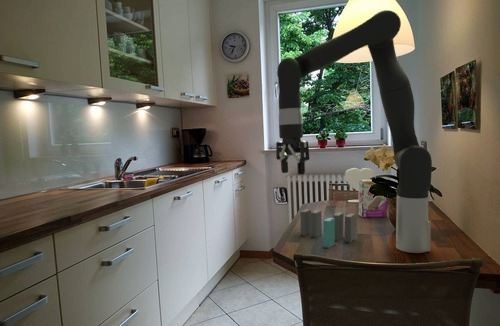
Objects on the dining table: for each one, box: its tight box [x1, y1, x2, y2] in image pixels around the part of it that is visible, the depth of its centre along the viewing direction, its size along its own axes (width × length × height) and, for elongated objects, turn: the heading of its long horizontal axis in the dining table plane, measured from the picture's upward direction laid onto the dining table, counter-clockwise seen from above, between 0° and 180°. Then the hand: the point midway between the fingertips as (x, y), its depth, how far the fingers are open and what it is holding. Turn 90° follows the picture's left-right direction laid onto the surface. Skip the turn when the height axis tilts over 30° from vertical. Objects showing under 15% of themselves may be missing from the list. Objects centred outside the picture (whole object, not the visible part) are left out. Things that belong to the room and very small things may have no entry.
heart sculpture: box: [344, 167, 377, 203], centre depth 196 cm, size 16×5×18 cm, turn 78°
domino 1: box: [300, 208, 312, 237], centre depth 136 cm, size 2×5×9 cm, turn 146°
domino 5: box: [344, 213, 356, 243], centre depth 127 cm, size 2×5×9 cm, turn 147°
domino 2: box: [310, 209, 323, 238], centre depth 134 cm, size 2×5×9 cm, turn 147°
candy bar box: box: [358, 180, 388, 219], centre depth 160 cm, size 11×5×16 cm, turn 92°
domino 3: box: [322, 217, 336, 249], centre depth 122 cm, size 2×5×9 cm, turn 147°
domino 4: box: [332, 211, 345, 242], centre depth 129 cm, size 2×5×9 cm, turn 146°
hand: (292, 173), depth 117 cm, fingers open, 8 cm apart
